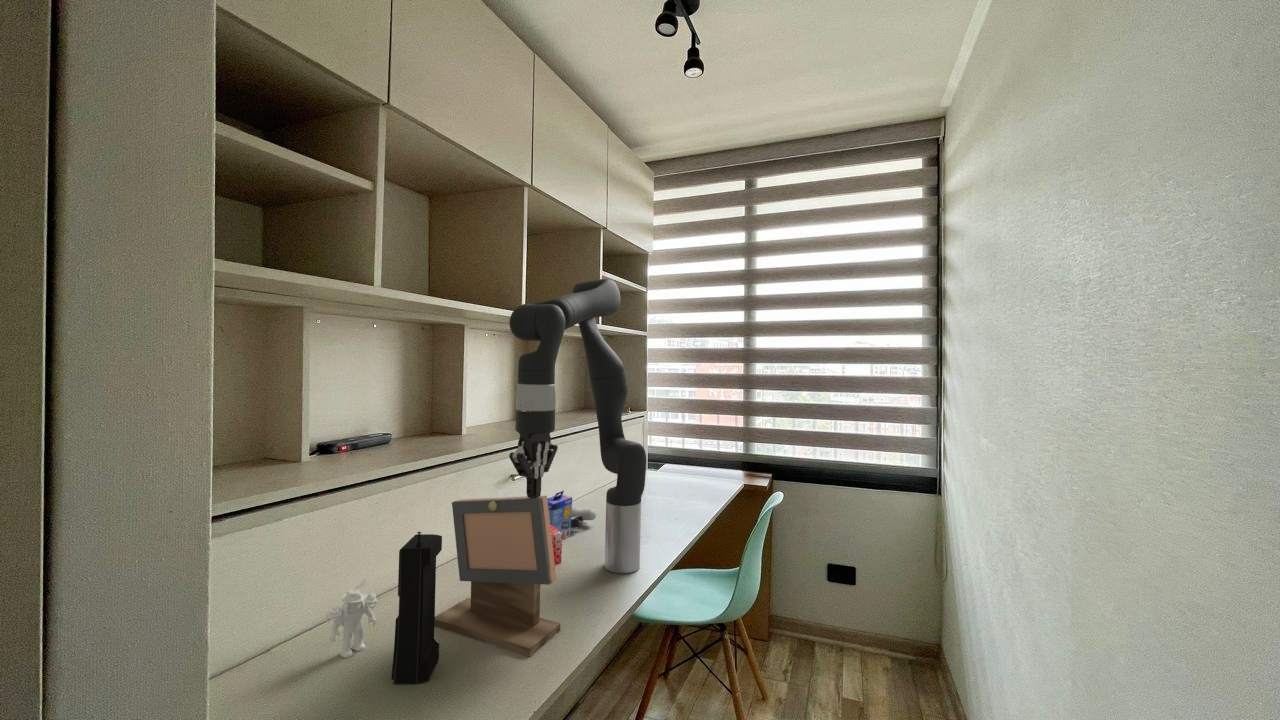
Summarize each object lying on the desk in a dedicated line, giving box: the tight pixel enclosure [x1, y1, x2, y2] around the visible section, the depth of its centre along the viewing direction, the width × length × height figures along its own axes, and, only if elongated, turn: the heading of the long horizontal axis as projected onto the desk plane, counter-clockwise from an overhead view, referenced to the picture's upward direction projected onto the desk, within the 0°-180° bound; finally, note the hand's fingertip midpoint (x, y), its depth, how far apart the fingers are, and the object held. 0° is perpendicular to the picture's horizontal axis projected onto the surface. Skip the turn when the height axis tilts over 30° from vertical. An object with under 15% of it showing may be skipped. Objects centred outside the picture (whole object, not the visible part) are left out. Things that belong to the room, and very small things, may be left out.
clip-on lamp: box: [571, 506, 597, 529], centre depth 168 cm, size 12×6×18 cm
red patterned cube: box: [550, 525, 563, 565], centre depth 138 cm, size 8×8×8 cm
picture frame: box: [451, 495, 557, 585], centre depth 102 cm, size 3×22×16 cm, turn 66°
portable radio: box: [390, 531, 443, 685], centre depth 89 cm, size 8×6×25 cm
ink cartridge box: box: [547, 490, 573, 541], centre depth 154 cm, size 10×6×14 cm, turn 151°
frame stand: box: [435, 581, 561, 657], centre depth 103 cm, size 10×24×24 cm, turn 66°
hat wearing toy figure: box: [324, 579, 378, 658], centre depth 94 cm, size 9×4×12 cm, turn 147°
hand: (533, 496), depth 99 cm, fingers closed
